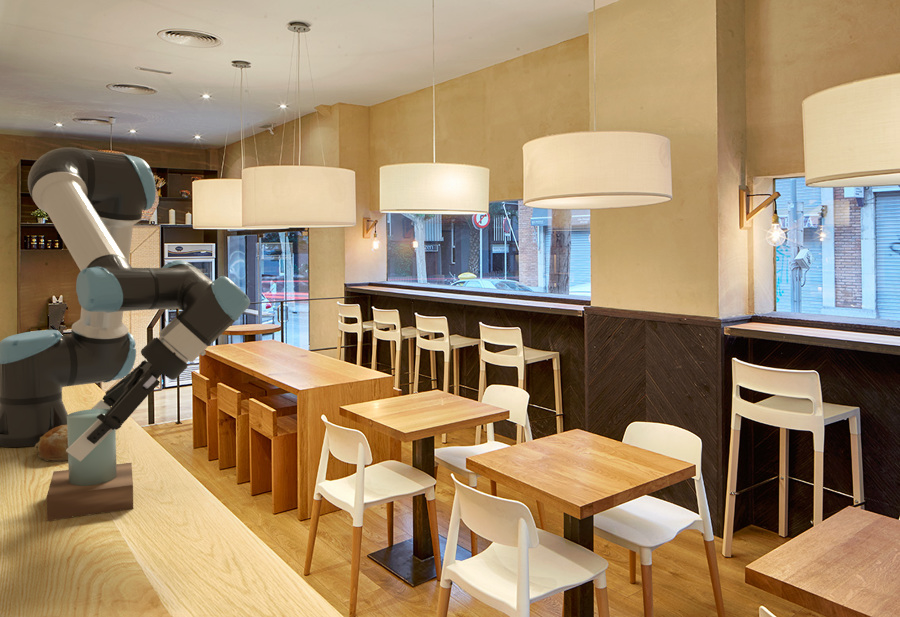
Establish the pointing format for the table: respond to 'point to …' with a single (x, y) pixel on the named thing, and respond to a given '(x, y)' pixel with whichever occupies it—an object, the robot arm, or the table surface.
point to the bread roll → (54, 444)
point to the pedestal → (89, 495)
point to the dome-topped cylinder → (100, 459)
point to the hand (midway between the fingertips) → (75, 443)
